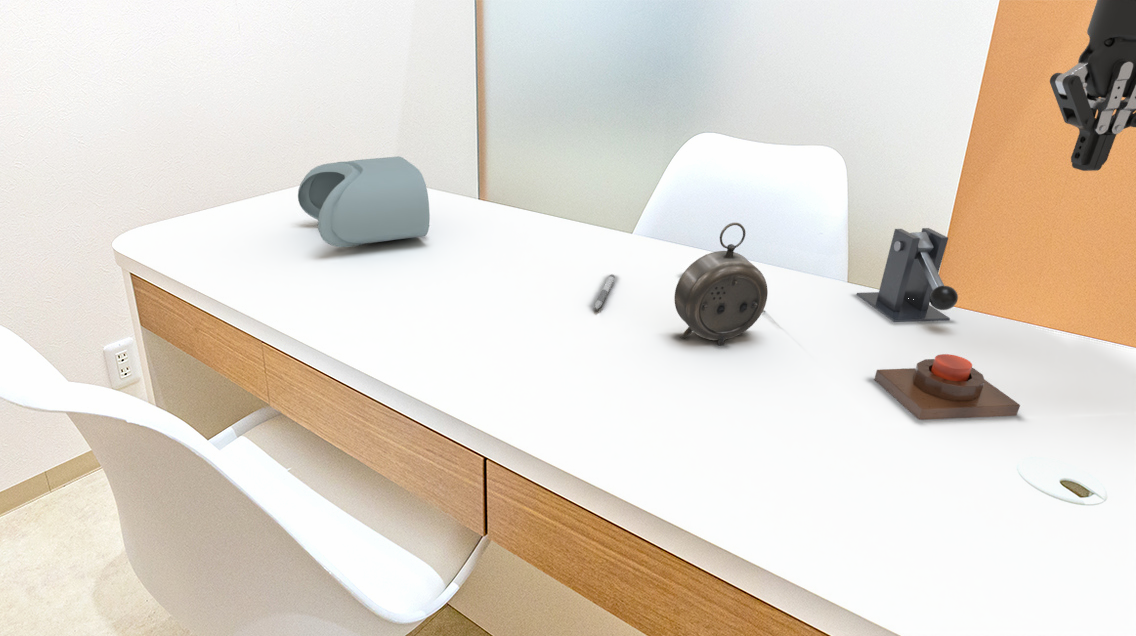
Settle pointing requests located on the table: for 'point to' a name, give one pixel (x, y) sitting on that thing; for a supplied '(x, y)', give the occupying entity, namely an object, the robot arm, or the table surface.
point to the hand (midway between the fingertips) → (1085, 169)
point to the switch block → (945, 394)
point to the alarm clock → (721, 294)
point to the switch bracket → (907, 280)
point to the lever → (934, 275)
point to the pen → (604, 292)
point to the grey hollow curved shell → (366, 201)
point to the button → (951, 367)
